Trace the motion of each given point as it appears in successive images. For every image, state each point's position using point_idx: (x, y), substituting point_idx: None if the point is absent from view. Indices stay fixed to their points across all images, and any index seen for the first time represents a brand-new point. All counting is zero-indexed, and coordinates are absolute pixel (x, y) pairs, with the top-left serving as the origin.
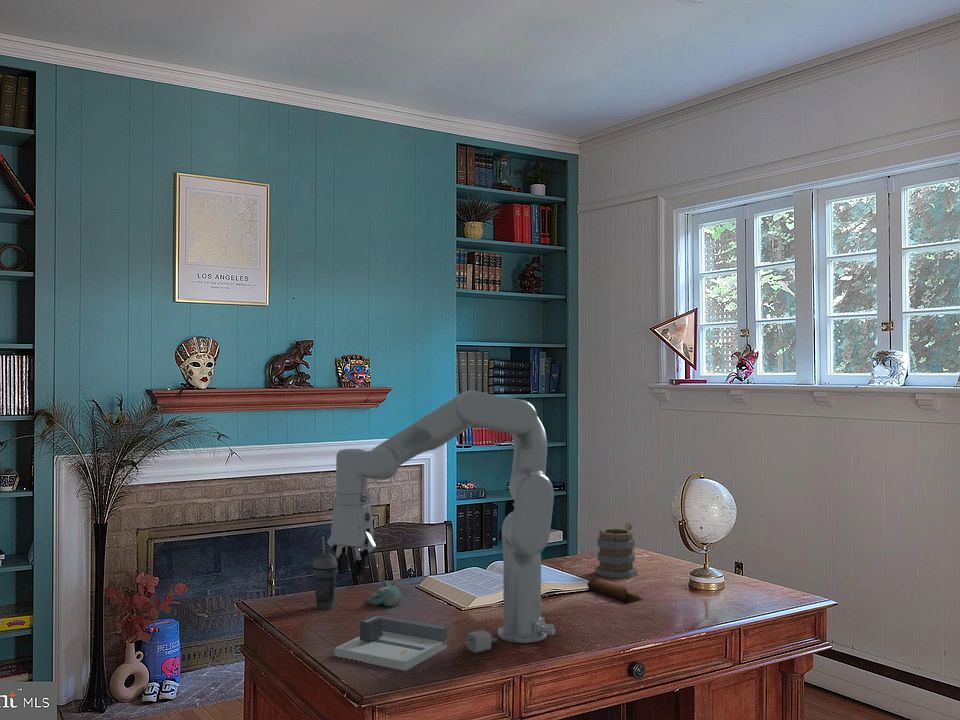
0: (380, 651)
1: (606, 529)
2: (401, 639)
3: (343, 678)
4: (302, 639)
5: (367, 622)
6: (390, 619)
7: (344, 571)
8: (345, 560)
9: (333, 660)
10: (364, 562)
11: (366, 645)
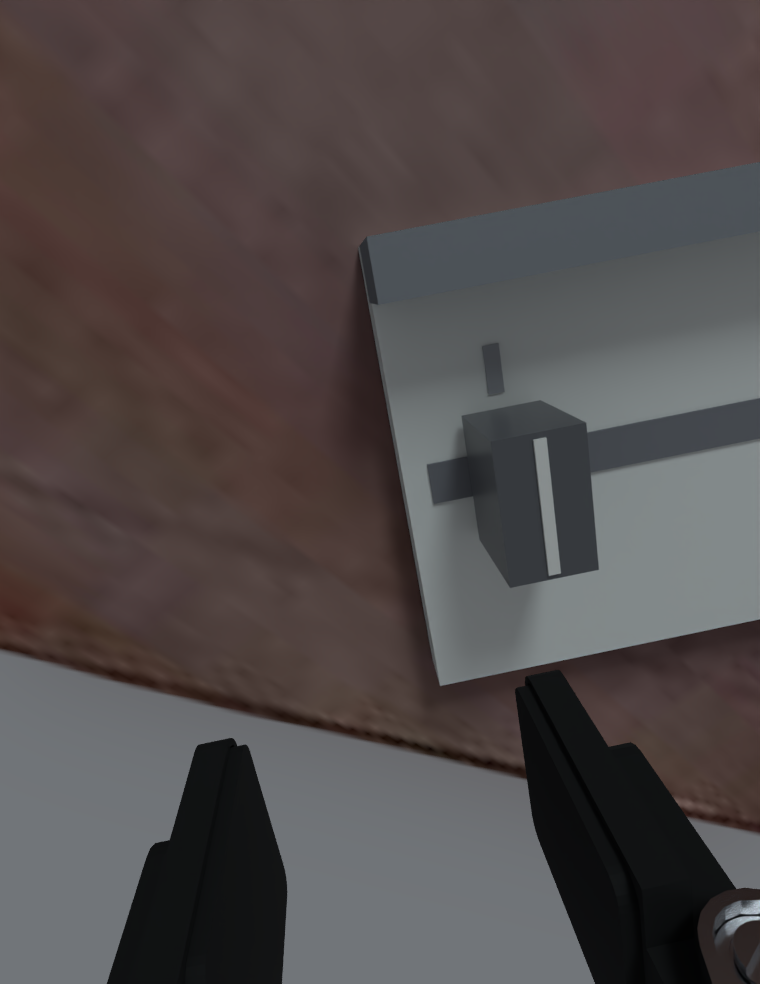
0: (686, 572)
1: None
2: (659, 342)
3: None
4: (64, 607)
5: (573, 571)
6: (517, 262)
7: (267, 826)
8: (239, 976)
9: (470, 695)
10: (710, 865)
11: None
